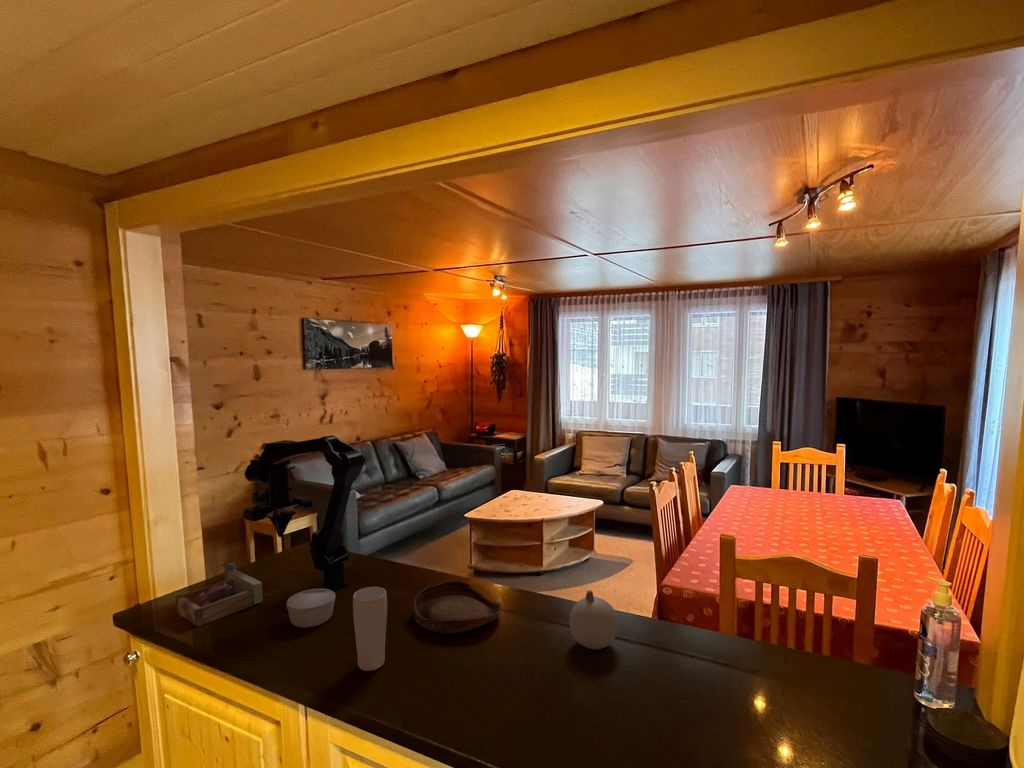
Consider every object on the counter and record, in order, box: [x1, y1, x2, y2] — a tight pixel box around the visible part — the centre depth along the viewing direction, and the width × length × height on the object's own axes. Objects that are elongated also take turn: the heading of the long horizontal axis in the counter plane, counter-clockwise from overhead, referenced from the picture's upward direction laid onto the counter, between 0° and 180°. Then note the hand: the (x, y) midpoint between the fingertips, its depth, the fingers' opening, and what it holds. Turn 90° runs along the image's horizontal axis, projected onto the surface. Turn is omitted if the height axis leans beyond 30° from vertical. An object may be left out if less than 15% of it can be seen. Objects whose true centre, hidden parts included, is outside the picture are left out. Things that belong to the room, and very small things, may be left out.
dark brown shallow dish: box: [412, 580, 503, 634], centre depth 125 cm, size 22×20×5 cm
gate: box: [223, 562, 264, 605], centre depth 138 cm, size 17×3×6 cm, turn 53°
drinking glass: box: [352, 586, 388, 672], centre depth 105 cm, size 7×7×15 cm
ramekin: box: [285, 588, 336, 629], centre depth 125 cm, size 11×11×5 cm
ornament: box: [568, 589, 619, 650], centre depth 111 cm, size 10×10×12 cm
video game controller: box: [193, 583, 234, 607], centre depth 131 cm, size 10×5×7 cm, turn 153°
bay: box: [175, 579, 254, 627], centre depth 131 cm, size 12×13×4 cm
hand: (280, 536), depth 150 cm, fingers closed
